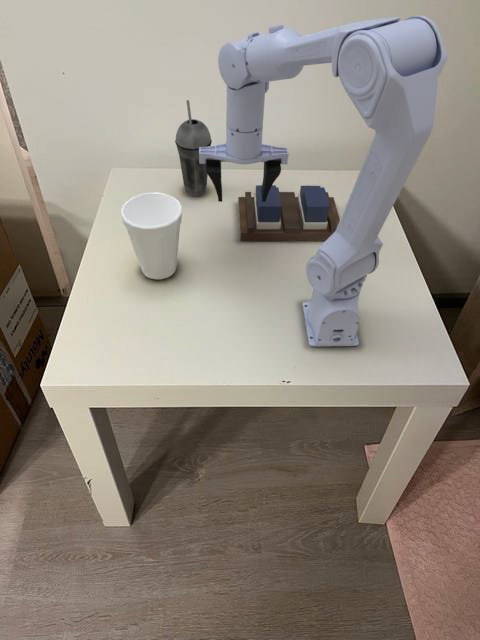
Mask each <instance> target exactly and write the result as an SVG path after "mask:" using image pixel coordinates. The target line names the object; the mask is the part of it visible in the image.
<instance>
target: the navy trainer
mask: <svg viewBox="0 0 480 640" xmlns="http://www.w3.org/2000/svg"><path fill="white" fill-rule="evenodd" d="M261 191H262V184H260V185H259V184H256V185H255V193H253V197H254V208H255V218H256V229H280V227H281V220H280V215H281V201H280V194H279V192H280V190H279V187H277V184H273V185H272V186H271V188H270V191H269V193H268V196H267V199H266V202H262V197H261Z"/></svg>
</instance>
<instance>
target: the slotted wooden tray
mask: <svg viewBox="0 0 480 640" xmlns="http://www.w3.org/2000/svg"><path fill="white" fill-rule="evenodd" d="M325 192H326V195H327V199H328V203H329V206H330V207H329V212H328V217H327V222H328V225H327V229H303V226H302V221H301V216H300V211H299V206H298V201H297V198H298V196H296V193H295V191H279V194H280V201H281V215H280V220H281V227H280V229H256V218H255V208H254V196H252V191H244V196H238V197H237V207H238V208H237V210H238V211H237V212H238V226H239V227H238V229H239V241H240V242H325V241H326V240H327V239H328V238H329V237H330V236H331V235H332V234H333V233H334V232H335V231H336V229H337V226H338V224H339V221H340V219H341V217H340V216H339V212H338V208H337V205H336V202H335V201H336V200H335V197H334V196H330V195H329V192H328V191H325Z"/></svg>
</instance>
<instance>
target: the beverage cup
mask: <svg viewBox="0 0 480 640" xmlns="http://www.w3.org/2000/svg"><path fill="white" fill-rule="evenodd" d="M186 107H187V108H186V109H187V117H188V119H187V120H185V121H183V122H182V123H181V124H180V125H179V126H178V128H177V130H176V134H175V140H174V142H175V143H174V144H175V145H176V146H175V147H176V148H177V152H178V157H179V162H180V170H181V175H182V181H183V186H184V191H185V192H184V193H185V194H186V195H187V196H189V197H192V198H199V197H202V196H205V194H206V193H207V186H208V177H209V176H208V174H207V171H206V163H205V164H200V163H199V147H209V146H212V143H213V140H212V136H211V133H210V131H209V128H208V126H206V124H205V123H204V122H203V121H201V120H198V119H193V118H192V113H191V105H190V100H189V99H186Z"/></svg>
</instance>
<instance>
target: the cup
mask: <svg viewBox="0 0 480 640" xmlns="http://www.w3.org/2000/svg"><path fill="white" fill-rule="evenodd" d="M182 217H183V205H182V203H181V202H180V201H179V199H178V198H175V197H174V196H172V195H171V194H168V193H164V192H160V191H158V192H153V191H152V192H143V193H140V194H136V195H134V196H132V197H130V198H129V199H127V200H126V201H125V202H124V204H123V205H122V206H121V209H120V218H121V220H122V223H123V225H124V227H125V229H126V232H127V234H128V237H129V240H130V242H131V245H132V248H133V250H134V253H135V255H136V259H137V261H138V264H139V267H140V270H141V272H142V273H143V275H144V276H145V277H147V278H148V279H152V280H164V279H167V278H168V279H169V277H171V276H173V275H174V273H176V270H177V264H178V253H179V241H180V230H181V223H182Z"/></svg>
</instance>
